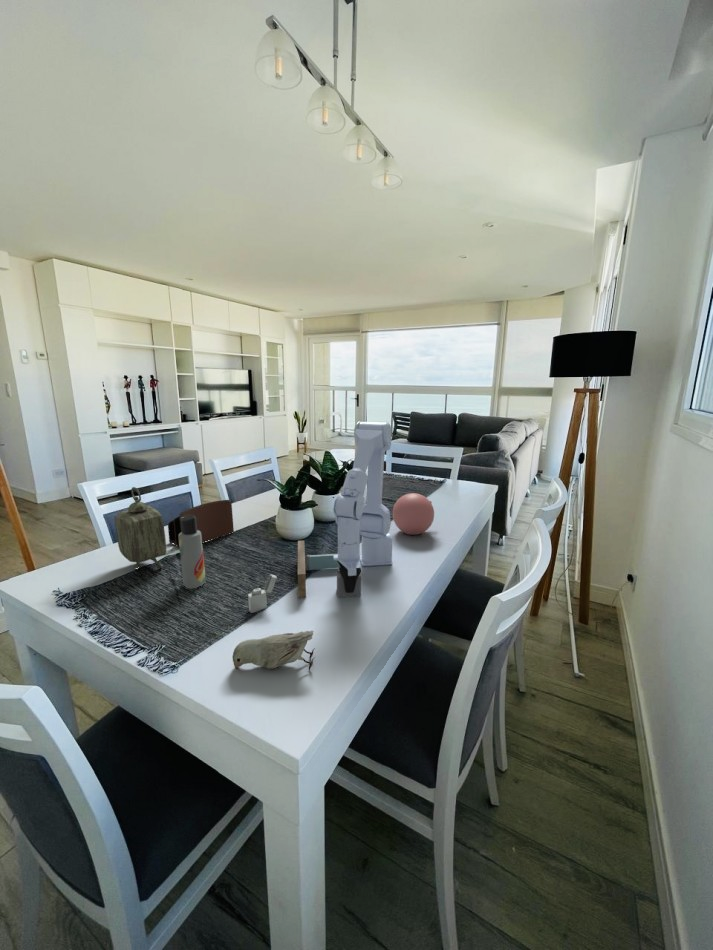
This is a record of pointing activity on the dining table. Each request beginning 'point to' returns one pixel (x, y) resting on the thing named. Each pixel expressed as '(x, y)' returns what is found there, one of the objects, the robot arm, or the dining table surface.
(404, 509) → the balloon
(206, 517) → the letter holder
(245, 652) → the decorative bird
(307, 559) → the door
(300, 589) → the wooden plank
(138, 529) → the tabletop clock
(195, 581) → the lotion bottle
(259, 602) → the lighter
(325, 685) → the dining table surface
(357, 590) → the block
